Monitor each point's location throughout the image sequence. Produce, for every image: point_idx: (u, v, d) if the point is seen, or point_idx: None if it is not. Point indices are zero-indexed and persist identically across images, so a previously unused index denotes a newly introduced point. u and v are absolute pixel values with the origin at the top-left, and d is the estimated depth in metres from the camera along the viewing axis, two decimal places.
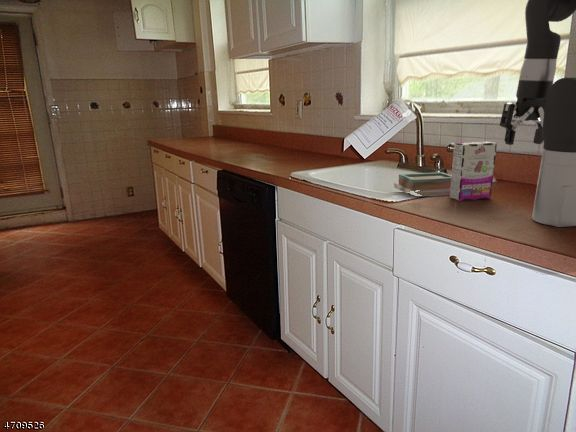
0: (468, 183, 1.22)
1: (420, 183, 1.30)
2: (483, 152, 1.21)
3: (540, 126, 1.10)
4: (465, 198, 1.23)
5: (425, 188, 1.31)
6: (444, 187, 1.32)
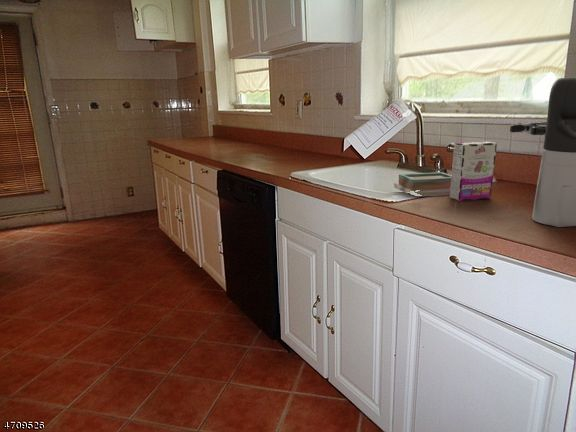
0: (468, 183, 1.22)
1: (420, 183, 1.30)
2: (483, 152, 1.21)
3: None
4: (465, 198, 1.23)
5: (425, 188, 1.31)
6: (444, 187, 1.32)
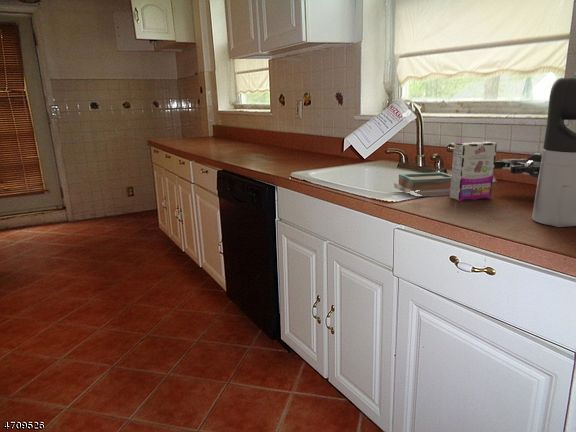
0: (468, 183, 1.22)
1: (420, 183, 1.30)
2: (483, 152, 1.21)
3: None
4: (465, 198, 1.23)
5: (425, 188, 1.31)
6: (444, 187, 1.32)
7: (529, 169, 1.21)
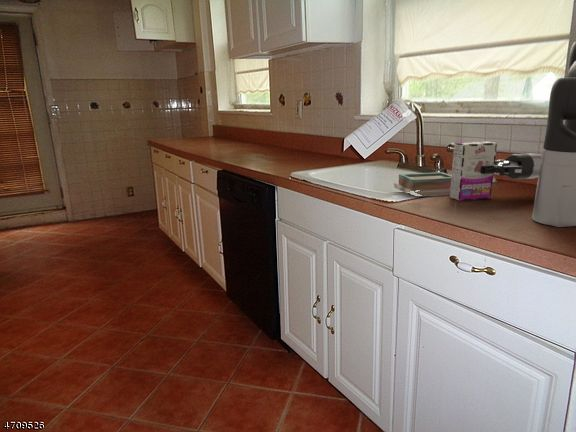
0: (468, 183, 1.22)
1: (420, 183, 1.30)
2: (483, 152, 1.21)
3: None
4: (465, 198, 1.23)
5: (425, 188, 1.31)
6: (444, 187, 1.32)
7: (499, 169, 1.21)
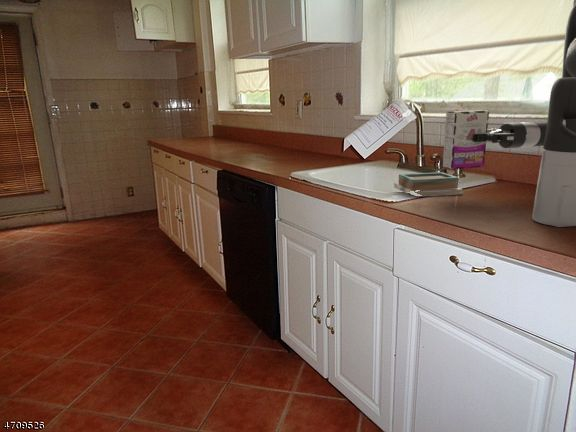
0: (461, 151, 1.23)
1: (420, 183, 1.30)
2: (475, 120, 1.21)
3: None
4: (458, 166, 1.24)
5: (425, 188, 1.31)
6: (444, 187, 1.32)
7: (491, 137, 1.21)
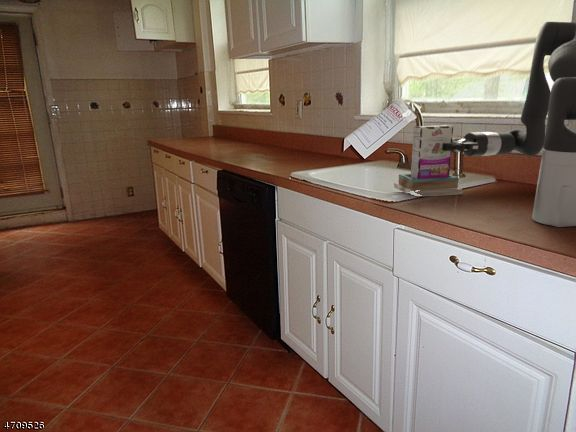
0: (426, 163, 1.31)
1: (420, 183, 1.30)
2: (440, 134, 1.29)
3: None
4: (424, 178, 1.32)
5: (425, 188, 1.31)
6: (444, 187, 1.32)
7: (459, 146, 1.28)
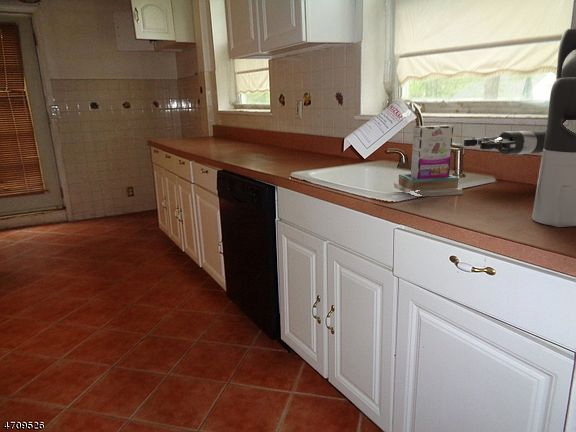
0: (426, 163, 1.31)
1: (420, 183, 1.30)
2: (440, 134, 1.30)
3: None
4: (424, 178, 1.32)
5: (425, 188, 1.31)
6: (444, 187, 1.32)
7: (497, 145, 1.30)
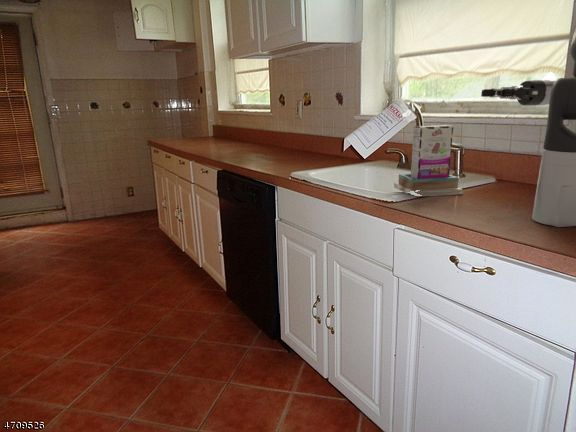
0: (426, 163, 1.31)
1: (420, 183, 1.30)
2: (440, 134, 1.30)
3: None
4: (424, 178, 1.32)
5: (425, 188, 1.31)
6: (444, 187, 1.32)
7: (518, 91, 1.23)
